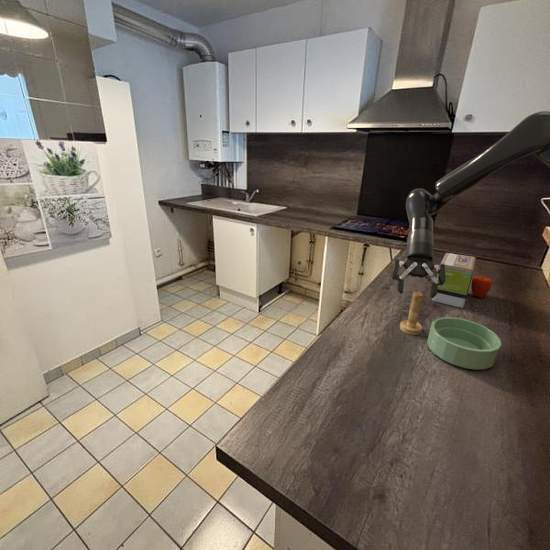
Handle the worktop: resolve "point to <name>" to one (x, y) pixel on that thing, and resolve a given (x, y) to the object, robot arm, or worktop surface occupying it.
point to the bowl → (463, 343)
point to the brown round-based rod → (413, 316)
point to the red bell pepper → (480, 286)
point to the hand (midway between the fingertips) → (416, 294)
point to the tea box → (455, 279)
